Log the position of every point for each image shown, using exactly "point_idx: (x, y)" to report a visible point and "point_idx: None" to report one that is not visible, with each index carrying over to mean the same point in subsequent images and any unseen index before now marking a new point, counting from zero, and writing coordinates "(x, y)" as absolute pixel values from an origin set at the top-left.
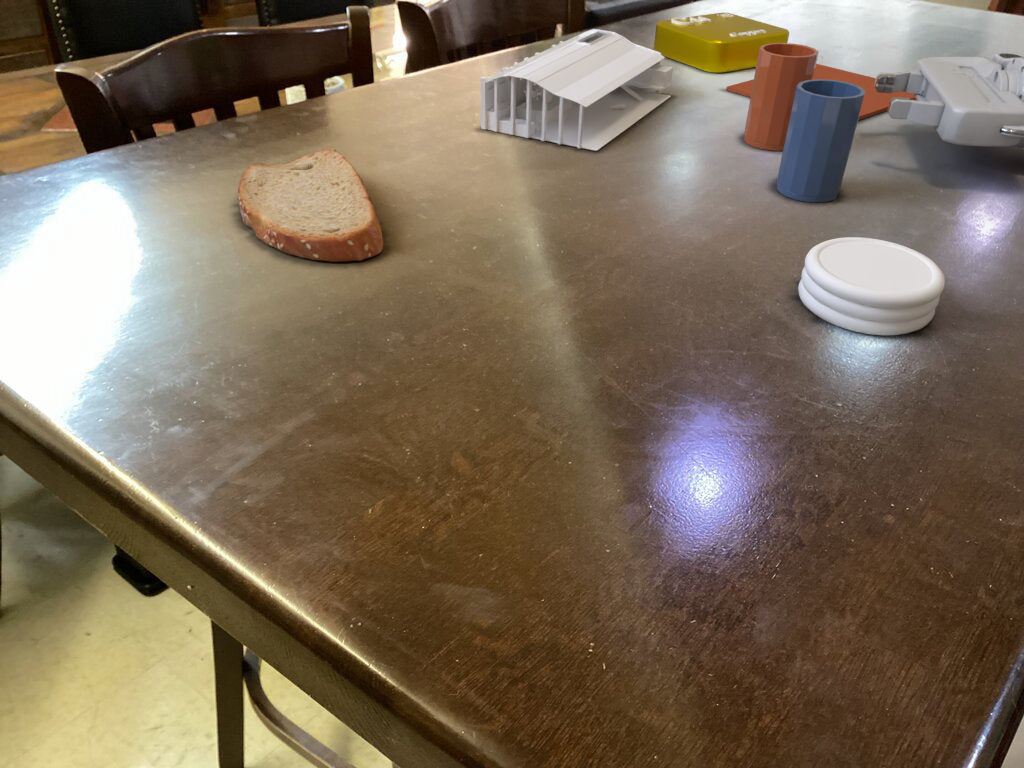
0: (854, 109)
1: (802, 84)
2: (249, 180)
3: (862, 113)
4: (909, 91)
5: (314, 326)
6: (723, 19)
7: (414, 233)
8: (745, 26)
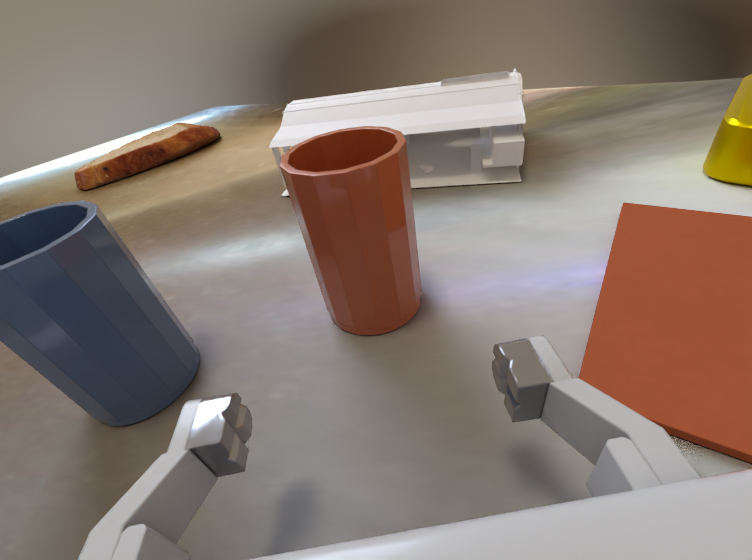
0: None
1: (68, 205)
2: (162, 130)
3: (698, 427)
4: (592, 490)
5: (7, 204)
6: None
7: (114, 189)
8: None
